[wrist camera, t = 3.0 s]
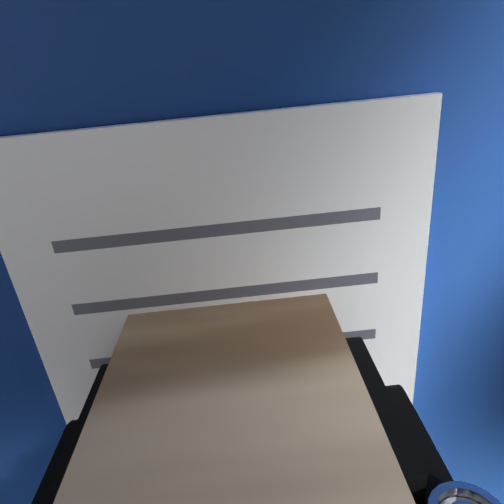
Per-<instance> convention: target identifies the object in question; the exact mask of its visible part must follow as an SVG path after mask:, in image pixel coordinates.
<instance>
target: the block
mask: <svg viewBox="0 0 504 504" xmlns="http://www.w3.org/2000/svg"><path fill="white" fill-rule="evenodd" d="M53 504H416V503H415V501H414V498H413V496H412V494H411V491H410V489H409V487H408V484H407V482H406V480H405V477H404V475H403V473H402V470H401V468H400V466H399V463H398V461H397V459H396V456H395V454H394V452H393V449H392V447H391V445H390V442H389V440H388V437H387V435H386V433H385V430H384V428H383V426H382V423H381V421H380V419H379V416H378V414H377V412H376V409H375V407H374V405H373V402H372V400H371V398H370V395H369V393H368V391H367V388H366V386H365V383H364V381H363V379H362V376H361V374H360V372H359V369H358V367H357V365H356V362H355V360H354V358H353V355H352V353H351V351H350V348H349V346H348V344H347V341H346V339H345V337H344V334H343V332H342V330H341V327H340V325H339V322H338V320H337V318H336V315H335V313H334V311H333V308H332V306H331V304H330V301H329V299H328V297H327V294H317V295H308V296H299V297H289V298H280V299H270V300H261V301H252V302H242V303H233V304H224V305H214V306H205V307H195V308H186V309H177V310H167V311H158V312H149V313H139V314H130V315H128V316H127V319H126V321H125V324H124V326H123V329H122V331H121V334H120V336H119V339H118V341H117V344H116V346H115V349H114V351H113V354H112V356H111V359H110V362H109V364H108V367H107V369H106V372H105V374H104V377H103V379H102V382H101V384H100V387H99V389H98V392H97V394H96V397H95V399H94V402H93V404H92V407H91V409H90V412H89V414H88V417H87V419H86V422H85V425H84V427H83V430H82V432H81V435H80V437H79V440H78V442H77V445H76V447H75V450H74V452H73V455H72V457H71V460H70V462H69V465H68V467H67V470H66V472H65V475H64V477H63V480H62V482H61V485H60V488H59V490H58V493H57V495H56V498H55V500H54V503H53Z"/></svg>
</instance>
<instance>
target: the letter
mask: <svg viewBox="0 0 504 504" xmlns="http://www.w3.org/2000/svg"><path fill="white" fill-rule="evenodd" d="M442 94H443V93H438V92H434V93H424V94H414V95H404V96H395V97H385V98H375V99H365V100H355V101H346V102H336V103H326V104H316V105H306V106H297V107H287V108H277V109H267V110H257V111H248V112H238V113H228V114H218V115H208V116H199V117H189V118H179V119H169V120H159V121H150V122H140V123H130V124H120V125H110V126H101V127H91V128H81V129H71V130H61V131H52V132H42V133H32V134H22V135H12V136H3V137H0V252H1V255H2V257H3V260H4V262H5V265H6V268H7V270H8V273H9V276H10V278H11V281H12V283H13V286H14V289H15V291H16V294H17V296H18V299H19V302H20V304H21V307H22V309H23V312H24V315H25V317H26V320H27V323H28V325H29V328H30V330H31V333H32V336H33V338H34V341H35V343H36V346H37V349H38V351H39V354H40V356H41V359H42V362H43V364H44V367H45V369H46V372H47V375H48V377H49V380H50V383H51V385H52V388H53V390H54V393H55V396H56V398H57V401H58V403H59V406H60V409H61V411H62V414H63V416H64V419H65V422H66V424H68V423H69V422H70V421H71V420H78V418H79V416H80V413H81V411H82V409H83V406H84V404H85V402H86V399H87V397H88V394H89V392H90V390H91V387H92V385H93V383H94V380H95V378H96V375H97V373H98V371H99V368H100V367H101V365H103V364H109V362H110V359H111V356H112V354H113V351H114V349H115V346H116V344H117V341H118V339H119V336H120V334H121V331H122V329H123V326H124V324H125V321H126V319H127V316H128V315H130V314H139V313H149V312H158V311H167V310H177V309H186V308H195V307H205V306H214V305H224V304H233V303H242V302H252V301H261V300H270V299H280V298H289V297H299V296H308V295H317V294H327V297H328V299H329V301H330V304H331V306H332V308H333V311H334V313H335V315H336V318H337V320H338V322H339V325H340V327H341V330H342V332H343V334H344V337H345V338H351V337H361V338H362V339H363V341H364V343H365V345H366V347H367V349H368V351H369V353H370V355H371V358H372V360H373V362H374V364H375V366H376V368H377V370H378V372H379V374H380V376H381V378H382V380H383V382H384V384H385V386H389V385H398V384H399V385H401V386H402V387H403V389H404V390H405V392H406V394H407V395H408V397H409V399H410V401H411V403H412V405H413V396H414V386H415V375H416V365H417V354H418V344H419V333H420V323H421V313H422V302H423V292H424V281H425V271H426V260H427V250H428V240H429V229H430V219H431V208H432V198H433V187H434V177H435V167H436V156H437V146H438V135H439V125H440V114H441V104H442Z"/></svg>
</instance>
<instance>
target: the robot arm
mask: <svg viewBox="0 0 504 504" xmlns="http://www.w3.org/2000/svg"><path fill="white" fill-rule="evenodd" d="M345 339H346V341H347V344H348V346H349V348H350V351H351V353H352V355H353V358H354V360H355V362H356V365H357V367H358V369H359V372H360V374H361V376H362V379H363V381H364V383H365V386H366V388H367V391H368V393H369V395H370V398H371V400H372V402H373V405H374V407H375V409H376V412H377V414H378V416H379V419H380V421H381V423H382V426H383V428H384V430H385V433H386V435H387V437H388V440H389V442H390V445H391V447H392V449H393V452H394V454H395V456H396V459H397V461H398V463H399V466H400V468H401V470H402V473H403V475H404V477H405V480H406V482H407V484H408V487H409V489H410V491H411V494H412V496H413V498H414V501H415V503H416V504H501V503H500V502H499V500H497V499H496V498H495V497H494V496H492V495H491V494H490V493H489V492H487V491H486V490H484V489H482V488H480V487H478V486H476V485H473V484H470V483H466V482H462V481H453V479H452V477H451V475H450V473H449V471H448V470H447V468H446V466H445V464H444V462H443V460H442V458H441V457H440V455H439V453H438V451H437V449H436V447H435V445H434V444H433V442H432V440H431V438H430V436H429V434H428V432H427V431H426V429H425V427H424V425H423V423H422V421H421V420H420V418H419V416H418V414H417V412H416V410H415V408H414V407H413V405H412V403H411V401H410V399H409V397H408V395H407V394H406V392H405V390H404V389H403V387H402V386H401V385H399V384H398V385H389V386H385V384H384V382H383V380H382V378H381V376H380V374H379V372H378V370H377V368H376V366H375V364H374V362H373V360H372V358H371V355H370V353H369V351H368V349H367V347H366V345H365V343H364V341H363V339H362V338H361V337H351V338H345ZM107 367H108V364H103V365H101V367H100V368H99V371H98V373H97V375H96V378H95V380H94V383H93V385H92V387H91V390H90V392H89V394H88V397H87V399H86V402H85V404H84V406H83V409H82V411H81V413H80V416H79V418H78V420H71V421H70V422H69V423H68V424H67V426H66V428H65V430H64V432H63V434H62V437H61V439H60V441H59V443H58V446H57V448H56V450H55V452H54V455H53V457H52V459H51V461H50V464H49V466H48V468H47V470H46V473H45V475H44V477H43V479H42V482H41V484H40V486H39V488H38V490H37V493H36V495H35V497H34V499H33V502H32V504H53V503H54V500H55V498H56V495H57V493H58V490H59V488H60V485H61V482H62V480H63V477H64V475H65V472H66V470H67V467H68V465H69V462H70V460H71V457H72V455H73V452H74V450H75V447H76V445H77V442H78V440H79V437H80V435H81V432H82V430H83V427H84V425H85V422H86V419H87V417H88V414H89V412H90V409H91V407H92V404H93V402H94V399H95V397H96V394H97V392H98V389H99V387H100V384H101V382H102V379H103V377H104V374H105V372H106V369H107Z"/></svg>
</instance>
